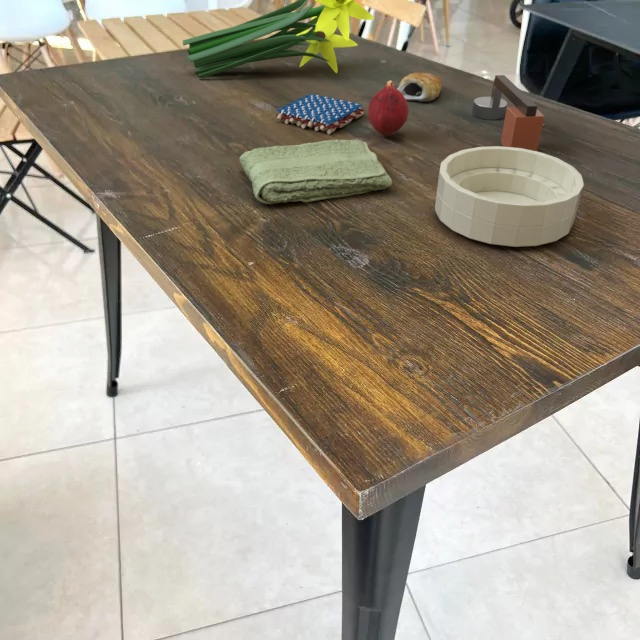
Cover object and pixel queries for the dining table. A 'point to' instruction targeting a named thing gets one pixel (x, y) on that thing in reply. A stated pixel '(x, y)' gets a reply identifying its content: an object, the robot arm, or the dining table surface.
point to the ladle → (502, 101)
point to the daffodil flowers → (278, 36)
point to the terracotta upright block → (522, 129)
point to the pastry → (420, 87)
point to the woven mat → (320, 113)
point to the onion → (388, 110)
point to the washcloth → (313, 171)
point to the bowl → (508, 195)
